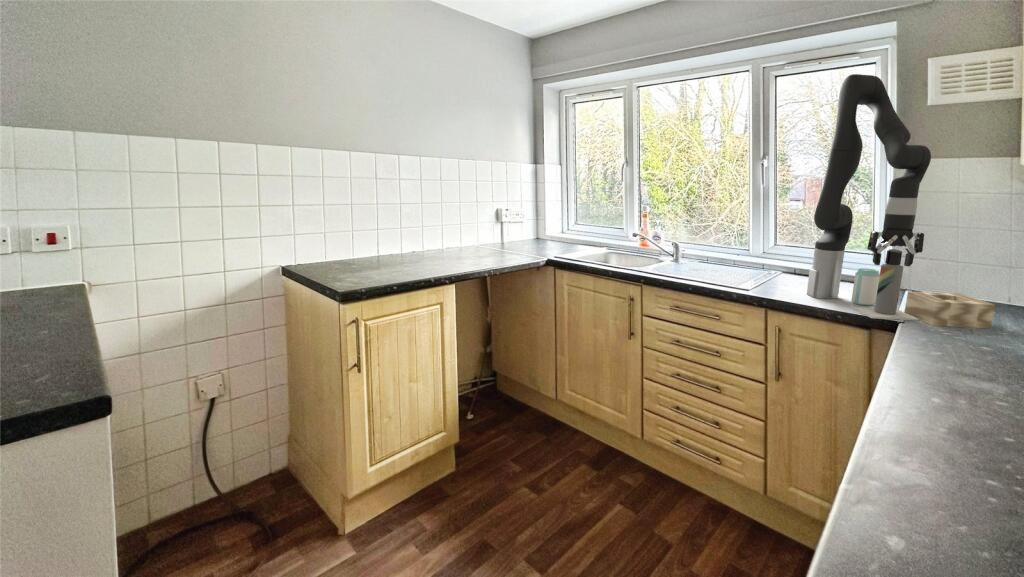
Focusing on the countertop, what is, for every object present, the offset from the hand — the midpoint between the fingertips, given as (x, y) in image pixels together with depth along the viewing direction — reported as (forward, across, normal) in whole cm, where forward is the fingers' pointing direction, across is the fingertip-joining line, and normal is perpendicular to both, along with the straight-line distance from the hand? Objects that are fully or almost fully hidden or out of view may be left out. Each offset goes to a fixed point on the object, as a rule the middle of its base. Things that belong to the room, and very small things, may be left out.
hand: (891, 265), depth 163 cm
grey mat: (+16, 0, 0) cm, 16 cm away
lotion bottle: (+15, 0, 0) cm, 15 cm away
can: (+16, 0, +14) cm, 21 cm away
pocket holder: (+16, +15, -4) cm, 22 cm away
